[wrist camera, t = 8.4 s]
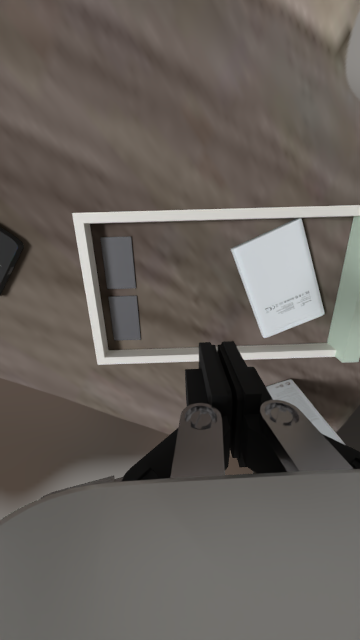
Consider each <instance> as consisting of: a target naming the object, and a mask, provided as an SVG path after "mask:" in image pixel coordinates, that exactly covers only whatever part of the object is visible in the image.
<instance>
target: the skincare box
mask: <svg viewBox="0 0 360 640" xmlns="http://www.w3.org/2000/svg"><path fill="white" fill-rule="evenodd" d="M266 388H267V390H268V392H269V394H270V395H271V397H272V399H273V400H282V401H285V402H288V403H291V404H292V405H294V406H296V407H297V408H298V409H299V410H300V411H301V412H302V413H303V414H304V415H305V416H306V417H307V418H308V419H309V421H310V422H311V423H312V424H313V425H314V426H315V427H316V428H317V429H318V430H319V431H320V433H322V434H324V435H326V436H328V437H330V438H332V439H334V440H336V441H338V442H340V443H342V444H344V443H343V441H342V440H341V439H340V437H339V436H338V435H337V434H336V433H335V431H334V430H333V429H332V428H331V427H330V425H329V424H328V423H327V422H326V421H325V419H324V418H323V417H322V416H321V415H320V413H319V412H318V411H317V410H316V408H315V407H314V406H313V405H312V403H311V402H310V401H309V400H308V398H307V397H306V396H305V395H304V394H303V392H302V391H301V390H300V389H299V387H298V386H297V385H296V384H295V383H294V381H293V380H292V379H289V380H285V381H282V382H279V383H276V384H272V385H270V386H267V387H266ZM344 445H345V444H344Z"/></svg>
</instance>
